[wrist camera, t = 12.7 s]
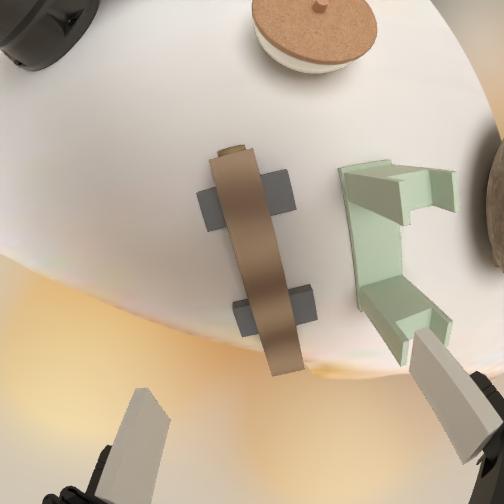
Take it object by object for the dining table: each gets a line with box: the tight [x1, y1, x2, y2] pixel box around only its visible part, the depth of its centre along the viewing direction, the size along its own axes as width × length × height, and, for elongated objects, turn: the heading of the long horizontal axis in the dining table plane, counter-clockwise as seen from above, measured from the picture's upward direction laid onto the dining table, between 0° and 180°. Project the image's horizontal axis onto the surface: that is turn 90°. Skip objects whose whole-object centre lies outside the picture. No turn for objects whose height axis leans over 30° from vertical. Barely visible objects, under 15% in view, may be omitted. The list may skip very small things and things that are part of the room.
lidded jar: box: [252, 0, 377, 74], centre depth 17 cm, size 11×11×9 cm
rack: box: [338, 160, 460, 367], centre depth 23 cm, size 17×6×12 cm, turn 14°
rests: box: [196, 169, 318, 337], centre depth 29 cm, size 17×9×2 cm, turn 14°
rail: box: [209, 145, 305, 376], centre depth 26 cm, size 23×4×5 cm, turn 14°
